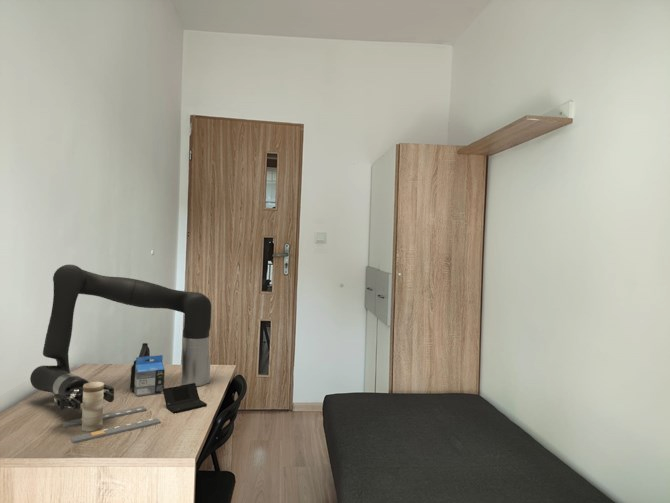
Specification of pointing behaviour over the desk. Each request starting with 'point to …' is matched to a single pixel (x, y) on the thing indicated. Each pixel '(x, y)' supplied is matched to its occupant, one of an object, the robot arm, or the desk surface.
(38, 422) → the desk surface
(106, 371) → the desk surface
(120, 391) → the desk surface
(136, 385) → the label tape cartridge
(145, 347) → the black tall piece
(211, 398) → the desk surface
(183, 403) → the handheld gaming console
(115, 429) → the dashed lane plates
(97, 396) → the cream stub
